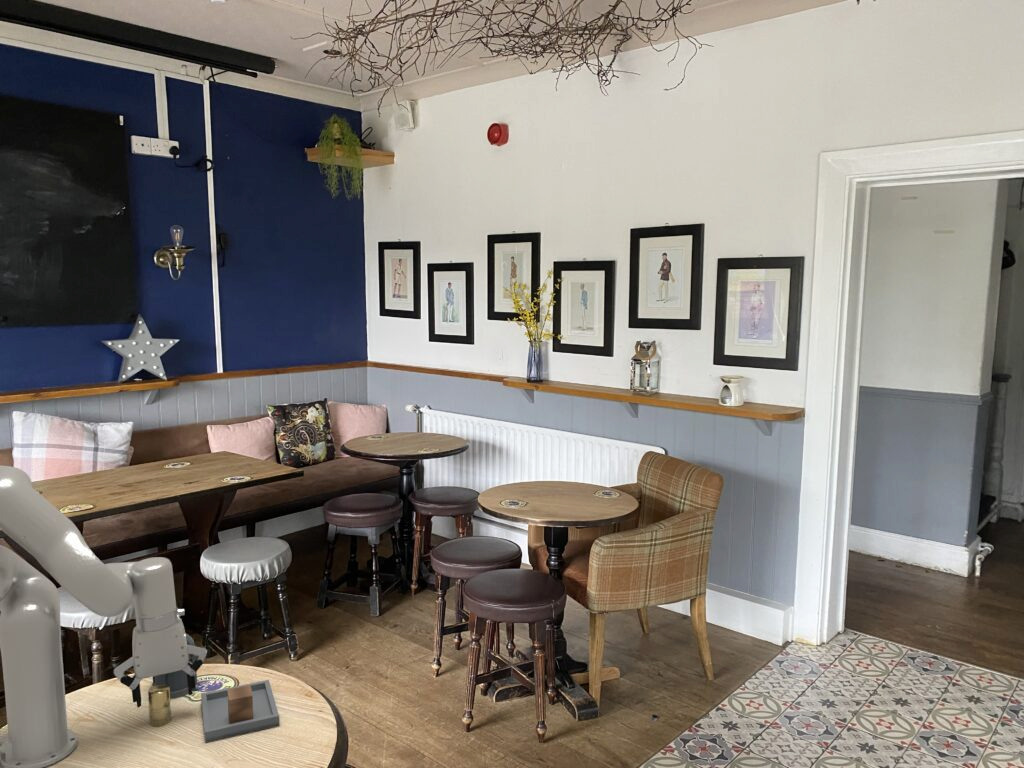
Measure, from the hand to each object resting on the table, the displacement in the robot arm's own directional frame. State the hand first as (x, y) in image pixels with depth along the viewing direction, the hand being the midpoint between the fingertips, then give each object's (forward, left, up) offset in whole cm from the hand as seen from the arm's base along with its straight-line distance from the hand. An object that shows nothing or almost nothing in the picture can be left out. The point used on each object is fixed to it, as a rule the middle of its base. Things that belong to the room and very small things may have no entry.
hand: (165, 697), depth 155 cm
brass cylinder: (-1, 0, -5) cm, 5 cm away
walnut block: (+14, -8, -4) cm, 17 cm away
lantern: (+2, +13, -5) cm, 14 cm away
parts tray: (+14, -4, -5) cm, 15 cm away
